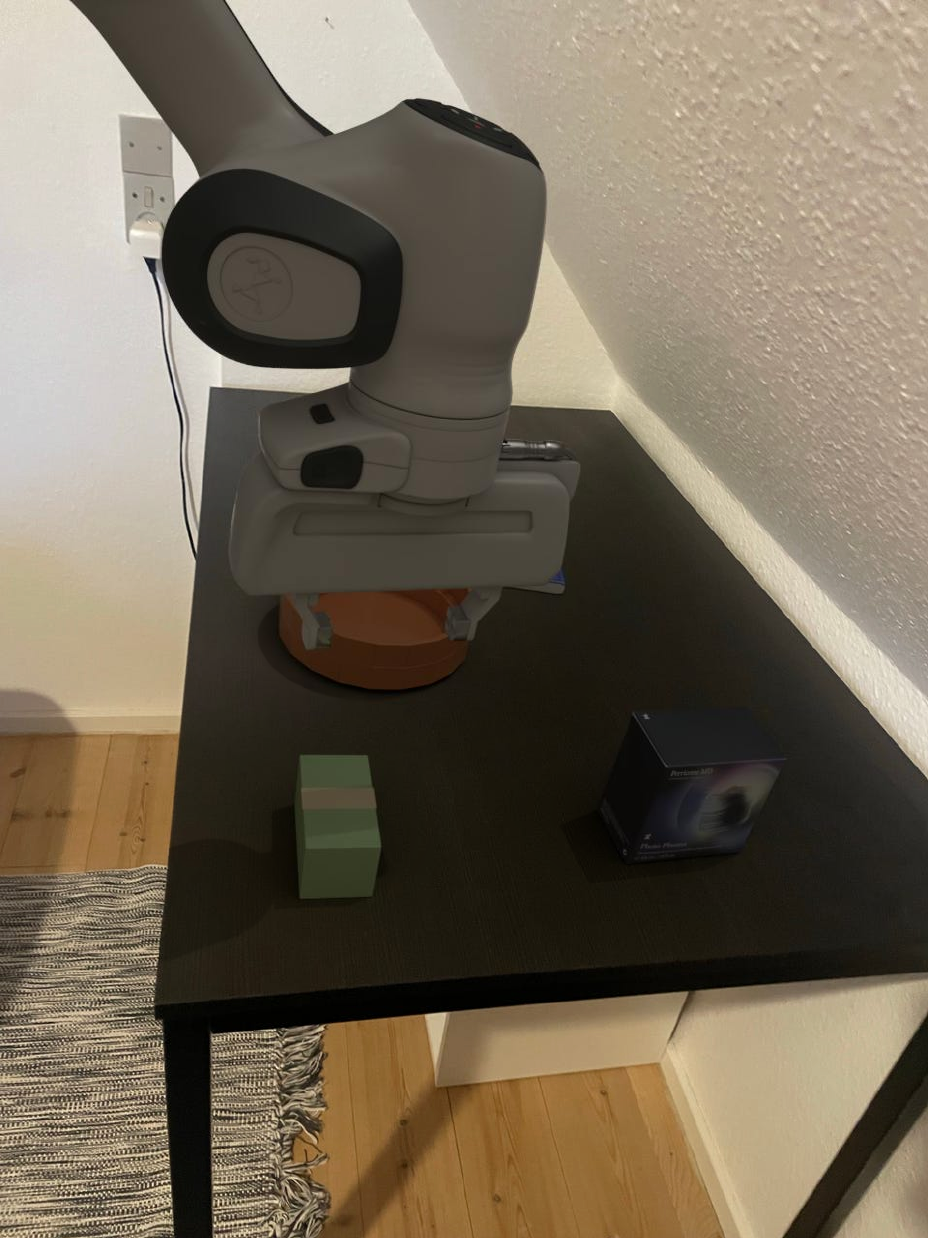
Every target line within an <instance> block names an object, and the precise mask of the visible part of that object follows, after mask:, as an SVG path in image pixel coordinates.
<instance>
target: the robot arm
mask: <svg viewBox="0 0 928 1238" xmlns="http://www.w3.org/2000/svg"><path fill="white" fill-rule="evenodd" d="M69 2H70V3H71V4H73V5H74V6H75V7H76V8H77V10H79V12H81V13H82V15H83V16H85V18H86V19H87V20H88V21H89V22H90V24H91V25H92V26H93V27H94V28H95V29H96V30H97V32H98V33H99V34H100V35H101V37H102V38H103V40H104V41H105V42H106V44H107V45H108V47H110V49H111V50H112V52H113V53H114V55H115V56H116V58H118V60H119V61H120V63H121V64H122V66H123V67H124V69H125V70H126V71H127V72H128V74H129V75H130V76H131V78H132V79H133V80H134V82H135V83H136V85H137V86H138V87H139V89H140V90H141V91H142V93H143V94H144V96H145V97H146V98H147V100H148V102H150V104H151V105H152V107H153V108H154V109H155V111H156V112H157V114H158V115H159V116H160V117H161V119H162V120H163V122H164V123H165V125H166V126H167V128H169V130H170V132H171V133H172V135H173V136H174V137H175V138H176V140H177V141H178V142H179V144H180V145H181V147H182V148H183V149H184V150H185V152H186V153H187V155H188V156H189V158H190V160H191V162H192V164H193V165H194V167H195V170H196V172H197V175H198V179H197V180H196V181H194V183H192V185H191V186H190V187H189V188H188V189H187V190H186V191H185V192H184V193H183V194H182V195H181V196H180V197H179V199H178V200H177V202H176V203H175V204H174V207H173V208H172V210H171V211H170V214H169V215H168V217H167V221H166V224H165V226H164V231H163V234H162V235H163V236H162V242H161V268H162V274H163V279H164V283H165V287H166V289H167V291H168V292H167V293H168V295H169V298H170V300H171V302H172V304H173V307H174V308H175V310H176V311H177V313H178V316H180V318H181V319H182V321H183V323H185V326H186V327H187V328H188V329H189V330H190V331H191V332H192V334H193V335H195V337H197V338H198V340H200V341H201V342H202V343H203V344H205V345H206V346H207V347H208V348H210V349H211V350H212V351H215V352H216V353H217V354H219V355H220V356H223V357H224V358H227V359H229V360H231V361H234V362H235V363H238V364H242V365H245V366H250V367H257V368H265V369H266V368H267V369H283V370H284V369H286V370H337V369H338V370H339V369H349V377H348V381H347V382H344V383H341V384H338V385H335V386H333V387H329V388H326V389H323V390H319V391H315V392H311V393H307V394H304V395H300V396H297V397H293V398H288V399H284V400H280V401H276V402H273V403H270V404H267V405H266V406H264V407H263V408H261V410H260V411H259V413H258V420H257V432H258V441H259V444H260V449H261V451H259V452H258V453H256V454H254V456H252V457H251V458H250V459H249V461H248V462H247V464H246V465H245V467H244V469H243V471H242V473H241V476H240V479H239V482H238V485H237V490H236V494H235V499H234V503H233V509H232V515H231V521H230V526H229V527H230V528H229V537H228V560H229V565H230V570H231V573H232V576H233V578H234V581H235V582H236V583H237V584H238V586H239V587H240V588H241V589H242V590H243V591H244V592H245V593H246V594H247V595H249V596H252V597H260V596H261V597H262V596H281V595H290V596H291V598H292V601H293V604H294V607H295V609H296V610H297V612H298V613H299V615H300V617H301V618H302V620H303V624H302V639H303V642H304V645H305V648H306V650H311V649H328V648H331V643H332V642H331V640H330V639H331V638H332V636H333V625H332V623H331V621H329V615H328V613H327V612H314V610H313V608H312V607H311V606H317V605H318V601H319V594H320V593H348V592H377V591H407V590H435V589H464V588H472V589H471V591H470V592H469V593H468V595H467V596H466V597H465V599H464V600H463V601H462V603H461V604H460V606H448V610H447V614H446V615H447V617H448V618H447V619H446V620H445V632H446V634H447V635H449V639H450V641H469V642H470V641H473V640H474V639H475V635H476V632H477V627H478V624H479V623H478V622H479V621H481V620H482V619H483V618H484V616H486V614H487V613H488V612H489V611H490V610H491V609H492V608H493V607H494V606H495V605H496V604H497V603H498V602H499V601H500V599H501V595H502V591H503V588H511V587H522V586H543V585H546V584H547V583H549V582H550V581H551V580H552V579H553V578H554V577H555V576H556V575H557V574H558V573H559V571H560V569H562V566H563V560H564V556H565V550H566V545H567V539H568V530H569V521H570V502H571V501H572V499H573V498H574V496H575V493H576V491H577V486H578V483H579V479H580V475H581V464H580V460H579V457H578V456H577V455H576V453H575V452H574V451H573V450H571V449H569V448H567V447H566V445H565V444H564V442H561V441H558V440H551V439H545V440H541V441H534V440H533V441H532V440H526V439H518V438H516V439H515V438H505V434H506V431H507V426H508V425H507V424H508V421H509V416H510V410H511V406H512V401H513V394H514V393H513V392H514V389H513V388H514V387H513V386H514V385H513V374H512V370H513V363H514V358H515V355H516V351H517V349H518V346H519V344H520V342H521V339H522V338H523V336H524V334H525V333H526V331H527V329H528V327H529V323H530V319H531V315H532V310H533V304H534V299H535V294H536V290H537V284H538V279H539V274H540V268H541V261H542V257H543V256H542V255H543V250H544V249H543V248H544V242H545V234H546V224H547V215H548V211H547V210H548V186H547V185H548V184H547V180H546V179H547V178H546V175H545V172H544V171H543V169H542V168H541V165H540V162H539V160H538V159H537V157H536V156H535V154H534V153H533V152H532V149H530V148H529V146H528V145H526V143H524V141H522V140H521V138H520V137H518V136H517V135H515V133H513V132H511V131H510V132H509V131H508V130H506V129H504V128H503V127H501V126H500V125H498V124H496V123H494V122H493V121H490V120H487V119H486V118H484V117H481V116H479V115H477V114H474V113H472V112H469V111H468V110H464V109H462V108H460V107H457V106H454V105H450V104H444V103H442V102H441V101H438V100H434V99H428V98H427V99H426V98H422V97H415V98H406V99H404V100H402V101H400V102H399V103H398V104H396V105H395V106H394V107H393V108H391V109H389V110H388V111H386V112H384V113H383V114H380V115H379V116H376V117H373V118H372V119H370V120H368V121H366V122H363V123H360V124H358V125H355V126H353V127H351V128H350V127H349V128H348V129H345V130H342V131H340V132H337V133H334V132H333V131H331V130H330V129H329V128H327V127H326V126H325V125H323V124H322V123H321V122H319V121H318V120H317V119H315V118H314V117H312V116H311V115H310V114H309V113H307V112H306V110H305V109H303V108H302V107H301V106H300V105H298V104H297V102H296V101H295V100H293V98H292V97H291V96H290V95H289V93H288V92H287V91H286V90H285V89H284V88H283V86H282V85H281V83H279V81H278V79H276V76H275V75H274V74H273V72H272V71H271V69H270V68H269V66H268V65H267V63H266V61H265V60H264V58H263V57H262V55H261V53H260V52H259V51H258V49H257V48H256V46H255V44H254V43H253V41H252V40H251V38H250V37H249V35H248V33H247V31H246V30H245V29H244V27H243V25H242V24H241V22H240V21H239V19H238V18H237V16H236V14H235V12H233V9H232V8H231V7H230V5H229V3H228V2H227V0H69Z"/></svg>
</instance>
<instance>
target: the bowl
mask: <svg viewBox="0 0 928 1238" xmlns="http://www.w3.org/2000/svg"><path fill="white" fill-rule="evenodd" d="M471 589H472V588H464V589H435V590H407V591H377V592H348V593H320V594H319V601H318V605H317V606H311V607H312V608H313V610H314V612H327V613H328V615H329V621H331V623H332V625H333V636H332V638H331V639H330V640H331V642H332V643H331V648H328V649H311V650H306V648H305V645H304V642H303V639H302V624H303V620H302V618H301V617H300V615H299V613H298V612H297V610H296V609H295V607H294V604H293V601H292V598H291V596H290V595H279V596H280V597H279V610H278V632H279V633H278V634H279V637H280V639H281V641H282V642H283V644H284V645H285V647H286V649H287V651H288V652H289V654H290V655H292V656H293V657H294V658H295V659H296V660H298V661H299V662H300V663H301V664H303V665H304V666H305V667H306V668H308V669H309V670H311V671H313V672H315V673H317V674H319V675H321V676H324V677H326V678H328V679H330V680H333V681H335V682H338V683H340V684H346V685H350V686H355V687H360V688H363V689H368V690H395V691H397V690H398V691H399V690H406V689H412V688H417V687H422V686H427V685H431V684H433V683H435V682H438V681H439V680H442V679H444V678H445V677H447V676H449V675H451V674H453V672H455V670H457V668H458V667H459V666H460V665H461V664H462V663H463V662H464V661H465V659H466V656H467V653H468V652H467V651H468V647H469V643H470V640H469V641H450V639H449V635H447V634H446V632H445V620H446V619H447V618H448V617H447V615H446V614H447V610H448V606H460V604H461V603H462V601H463V600H464V599H465V597H466V596H467V595H468V593H469V592H470V591H471Z"/></svg>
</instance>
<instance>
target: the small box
mask: <svg viewBox="0 0 928 1238" xmlns="http://www.w3.org/2000/svg"><path fill="white" fill-rule="evenodd" d="M786 761H787V757H786V755H785V754H784V752H783V751H782V750H781V748H780V747H779V745H778V744H777V743H776V742H775V740H774V739H773V738H772V737H771V735H770V734H769V733H768V732H767V730H766V729H765V728H764V726H763V725H762V723H760V721H759V719H757V717H756V716H755V715H754V713H753V712H752V711H751V709H750V708H749V707H748V706H747V705H744V706H729V707H728V706H725V707H724V706H723V707H704V708H703V707H702V708H682V709H661V710H660V709H657V710H635V711H632V712H631V714H630V718H629V722H628V725H627V728H626V731H625V733H624V736H623V738H622V741H621V743H620V747H619V750H618V752H617V755H616V757H615V760H614V763H613V766H612V768H611V771H610V773H609V776H608V779H607V782H606V785H605V788H604V790H603V792H602V793H601V794H602V795H601V797H600V800H598V801H599V802H598V804H597V806H596V808H595V809H596V810H597V813H598V815H599V816H600V818H601V819H602V822H603V823H604V824H605V827H606V829H607V830H608V833H609V835H610V836H611V838H612V840H613V842H614V844H615V848H616V849H617V851H618V852H619V854H620V856H621V858H622V860H623V861H624V863H625V864H628V865H631V864H641V863H651V862H660V861H669V860H671V861H672V860H681V859H690V858H700V857H701V858H702V857H710V856H711V857H712V856H720V855H721V856H722V855H731V854H740V853H741V851H742V849H743V847H744V845H745V843H746V842H747V839H748V837H749V835H750V833H751V831H752V829H753V827H754V825H755V823H756V820H757V818H758V817H759V814H760V813H761V811H762V808H763V807H764V804H765V803H766V800H767V799H768V796H769V794H770V792H771V791H772V789H773V787H774V785H775V784H776V783H775V782H776V780H777V778H778V777H779V775H780V772H781V771H782V768H783V767H784V765H785V762H786Z"/></svg>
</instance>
